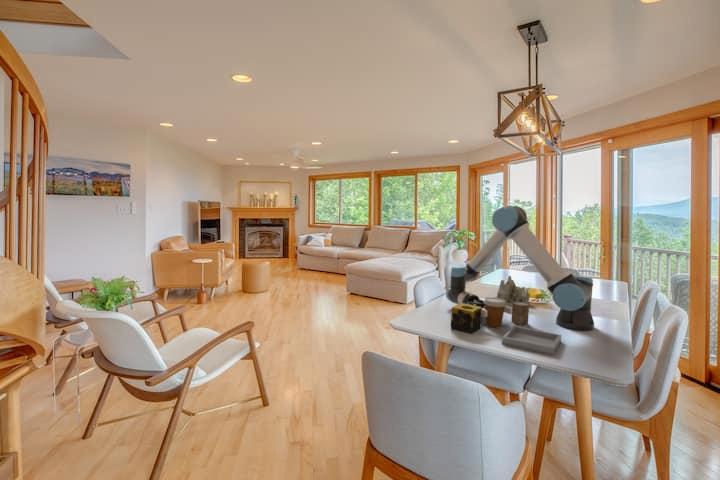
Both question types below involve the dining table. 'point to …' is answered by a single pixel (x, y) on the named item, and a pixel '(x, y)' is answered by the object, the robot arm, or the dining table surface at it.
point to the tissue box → (466, 318)
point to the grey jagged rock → (512, 293)
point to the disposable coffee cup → (494, 311)
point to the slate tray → (532, 340)
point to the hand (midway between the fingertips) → (499, 312)
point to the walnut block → (520, 313)
